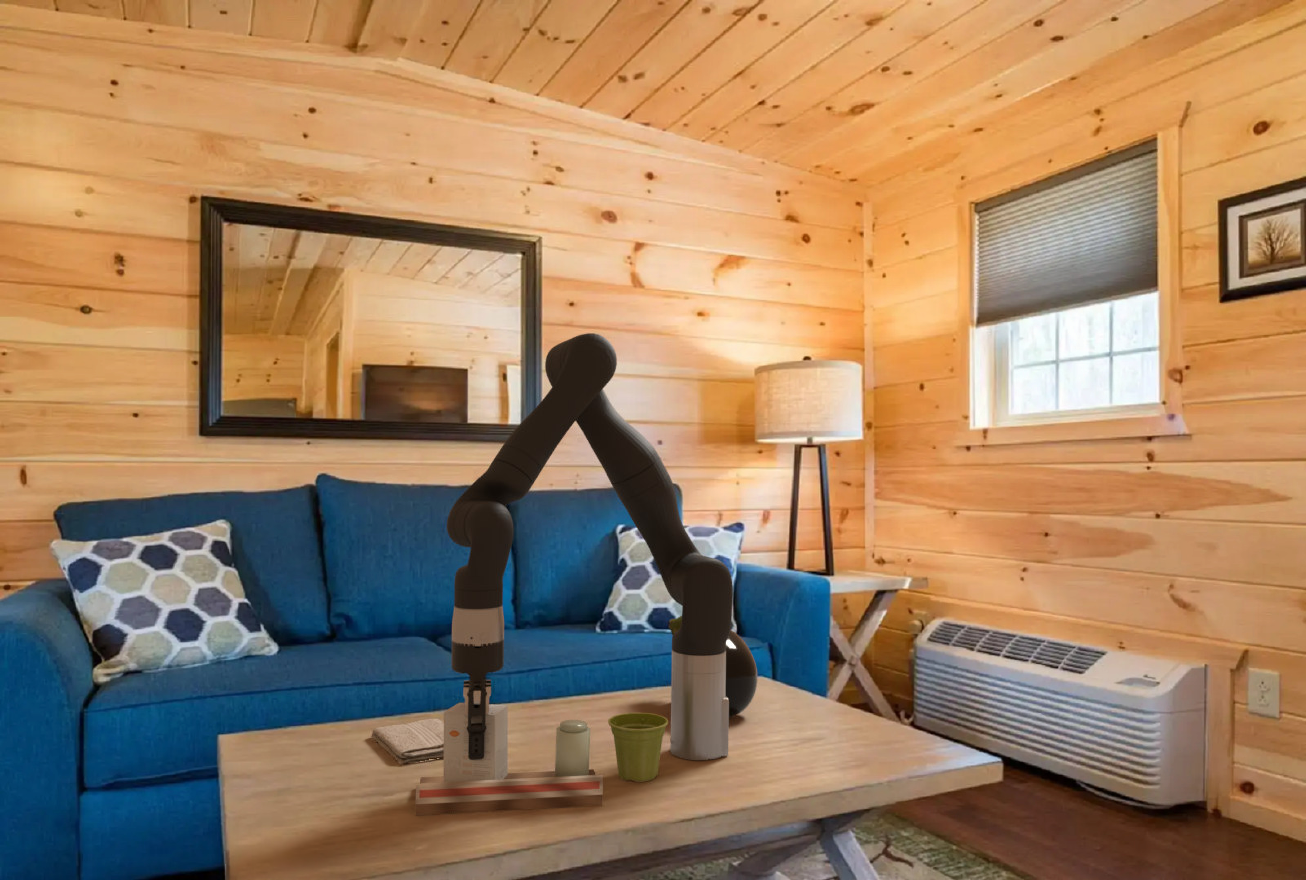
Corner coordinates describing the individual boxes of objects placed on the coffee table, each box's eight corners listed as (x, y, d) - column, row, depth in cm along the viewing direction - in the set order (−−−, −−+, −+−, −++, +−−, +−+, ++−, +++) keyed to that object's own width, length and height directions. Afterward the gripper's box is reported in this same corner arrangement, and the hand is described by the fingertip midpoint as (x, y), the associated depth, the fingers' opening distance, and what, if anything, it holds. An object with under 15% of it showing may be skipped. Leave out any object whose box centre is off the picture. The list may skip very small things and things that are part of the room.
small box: (508, 776, 137) (509, 704, 138) (494, 789, 132) (495, 714, 132) (457, 771, 139) (458, 701, 139) (442, 784, 133) (443, 711, 134)
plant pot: (623, 790, 139) (624, 731, 139) (597, 771, 147) (598, 716, 147) (678, 780, 143) (678, 724, 143) (650, 762, 151) (650, 709, 152)
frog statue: (690, 749, 175) (642, 682, 197) (763, 737, 181) (708, 673, 203) (699, 660, 170) (648, 601, 192) (774, 650, 176) (716, 594, 198)
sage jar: (585, 776, 140) (587, 718, 140) (591, 788, 135) (593, 728, 135) (552, 778, 139) (554, 719, 139) (556, 790, 134) (559, 729, 134)
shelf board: (593, 778, 143) (593, 752, 143) (602, 805, 132) (603, 777, 133) (420, 787, 139) (421, 760, 139) (415, 815, 128) (415, 786, 128)
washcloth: (401, 769, 148) (401, 750, 148) (368, 740, 163) (369, 722, 163) (471, 757, 154) (471, 738, 155) (434, 730, 170) (434, 713, 170)
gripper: (453, 628, 142) (451, 737, 142) (450, 647, 128) (448, 768, 128) (502, 627, 143) (501, 735, 143) (505, 645, 129) (503, 765, 129)
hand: (476, 750), depth 135 cm, fingers closed on small box, 7 cm apart
